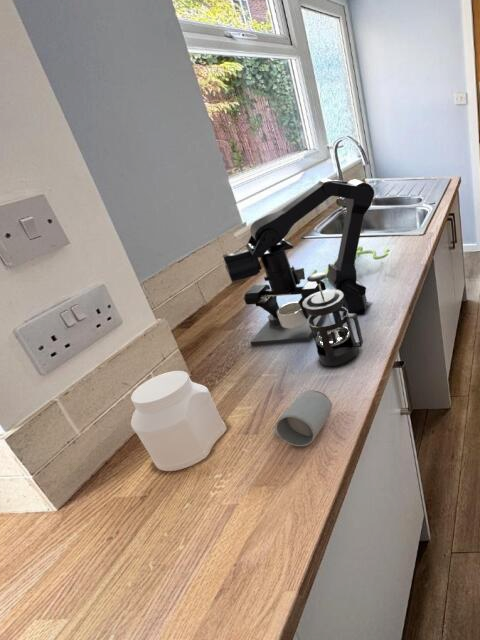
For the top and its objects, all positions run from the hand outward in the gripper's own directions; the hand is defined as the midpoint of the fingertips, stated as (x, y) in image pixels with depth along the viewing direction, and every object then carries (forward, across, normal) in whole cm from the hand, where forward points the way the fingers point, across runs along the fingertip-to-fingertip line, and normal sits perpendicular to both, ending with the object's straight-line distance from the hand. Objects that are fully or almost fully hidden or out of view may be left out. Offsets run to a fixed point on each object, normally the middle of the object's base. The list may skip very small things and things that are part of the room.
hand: (294, 319), depth 110 cm
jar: (+5, +6, +36) cm, 37 cm away
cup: (+1, 0, 0) cm, 1 cm away
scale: (+5, +3, -2) cm, 6 cm away
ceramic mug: (+5, -15, +35) cm, 38 cm away
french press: (+5, -15, +12) cm, 20 cm away
